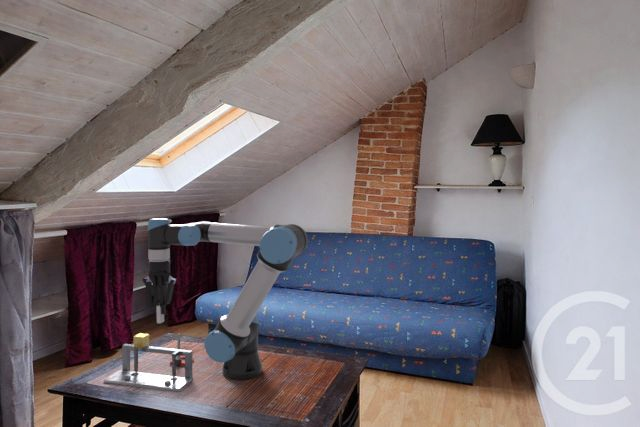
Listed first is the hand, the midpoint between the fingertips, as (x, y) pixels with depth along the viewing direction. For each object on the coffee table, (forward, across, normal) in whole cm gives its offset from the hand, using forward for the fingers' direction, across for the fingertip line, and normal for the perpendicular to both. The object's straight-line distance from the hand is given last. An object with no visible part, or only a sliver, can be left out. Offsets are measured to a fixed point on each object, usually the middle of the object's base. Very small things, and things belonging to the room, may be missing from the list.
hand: (160, 322), depth 174 cm
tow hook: (+21, -1, -14) cm, 25 cm away
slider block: (+19, +8, +1) cm, 21 cm away
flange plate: (+21, +2, +6) cm, 21 cm away
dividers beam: (+21, +2, +1) cm, 21 cm away
